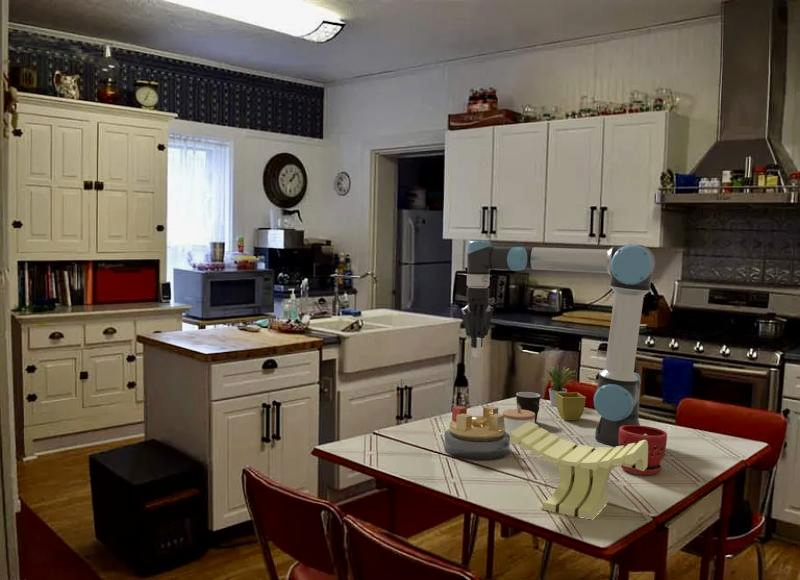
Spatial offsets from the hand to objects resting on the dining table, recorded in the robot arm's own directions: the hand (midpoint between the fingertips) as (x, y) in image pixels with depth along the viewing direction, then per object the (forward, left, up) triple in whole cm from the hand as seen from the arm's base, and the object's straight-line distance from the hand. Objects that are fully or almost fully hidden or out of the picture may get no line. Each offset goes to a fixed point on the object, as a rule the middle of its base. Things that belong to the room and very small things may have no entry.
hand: (476, 357), depth 245 cm
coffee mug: (-5, -24, -26) cm, 36 cm away
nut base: (-13, +16, -26) cm, 33 cm away
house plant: (+2, -56, -26) cm, 62 cm away
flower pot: (-12, -41, -26) cm, 50 cm away
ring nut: (-13, +16, -20) cm, 29 cm away
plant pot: (-57, -4, -26) cm, 63 cm away
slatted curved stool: (-58, +34, -26) cm, 73 cm away
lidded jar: (-12, -8, -26) cm, 30 cm away
